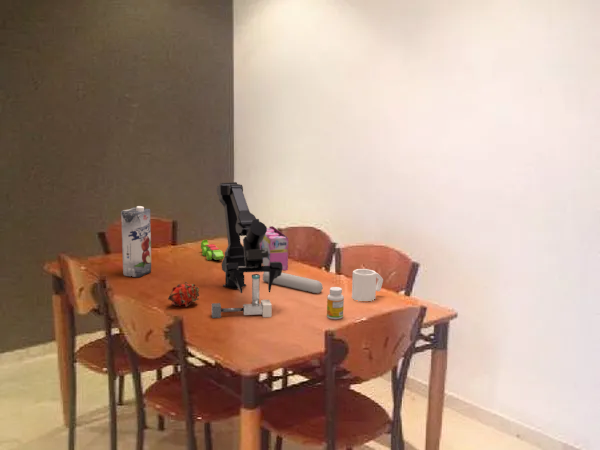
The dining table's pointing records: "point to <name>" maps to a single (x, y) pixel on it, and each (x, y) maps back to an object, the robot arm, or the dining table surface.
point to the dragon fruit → (184, 294)
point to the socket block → (267, 308)
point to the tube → (296, 282)
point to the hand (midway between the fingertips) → (255, 292)
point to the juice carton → (136, 241)
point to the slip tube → (254, 298)
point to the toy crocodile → (211, 251)
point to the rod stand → (222, 310)
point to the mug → (365, 284)
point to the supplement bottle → (335, 303)
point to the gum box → (275, 247)
